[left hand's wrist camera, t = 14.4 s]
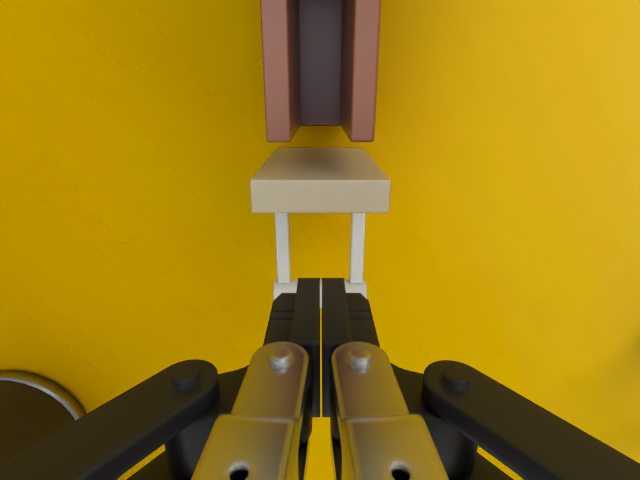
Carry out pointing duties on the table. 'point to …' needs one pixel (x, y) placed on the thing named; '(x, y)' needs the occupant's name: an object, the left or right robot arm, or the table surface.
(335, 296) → the left robot arm
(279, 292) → the drawer
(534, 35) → the table surface
